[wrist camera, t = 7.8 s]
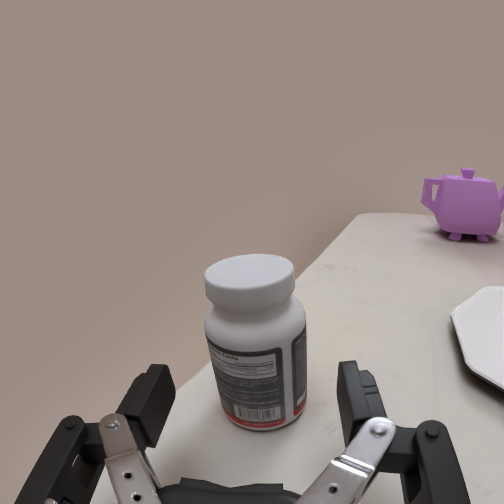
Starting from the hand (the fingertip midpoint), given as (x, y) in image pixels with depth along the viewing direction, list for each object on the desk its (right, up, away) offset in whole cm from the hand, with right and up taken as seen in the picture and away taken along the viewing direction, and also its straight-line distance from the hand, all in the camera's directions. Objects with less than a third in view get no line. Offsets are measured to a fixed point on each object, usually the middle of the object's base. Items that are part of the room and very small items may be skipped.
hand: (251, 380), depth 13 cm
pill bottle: (+1, -5, +6) cm, 7 cm away
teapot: (+41, +9, +35) cm, 55 cm away
